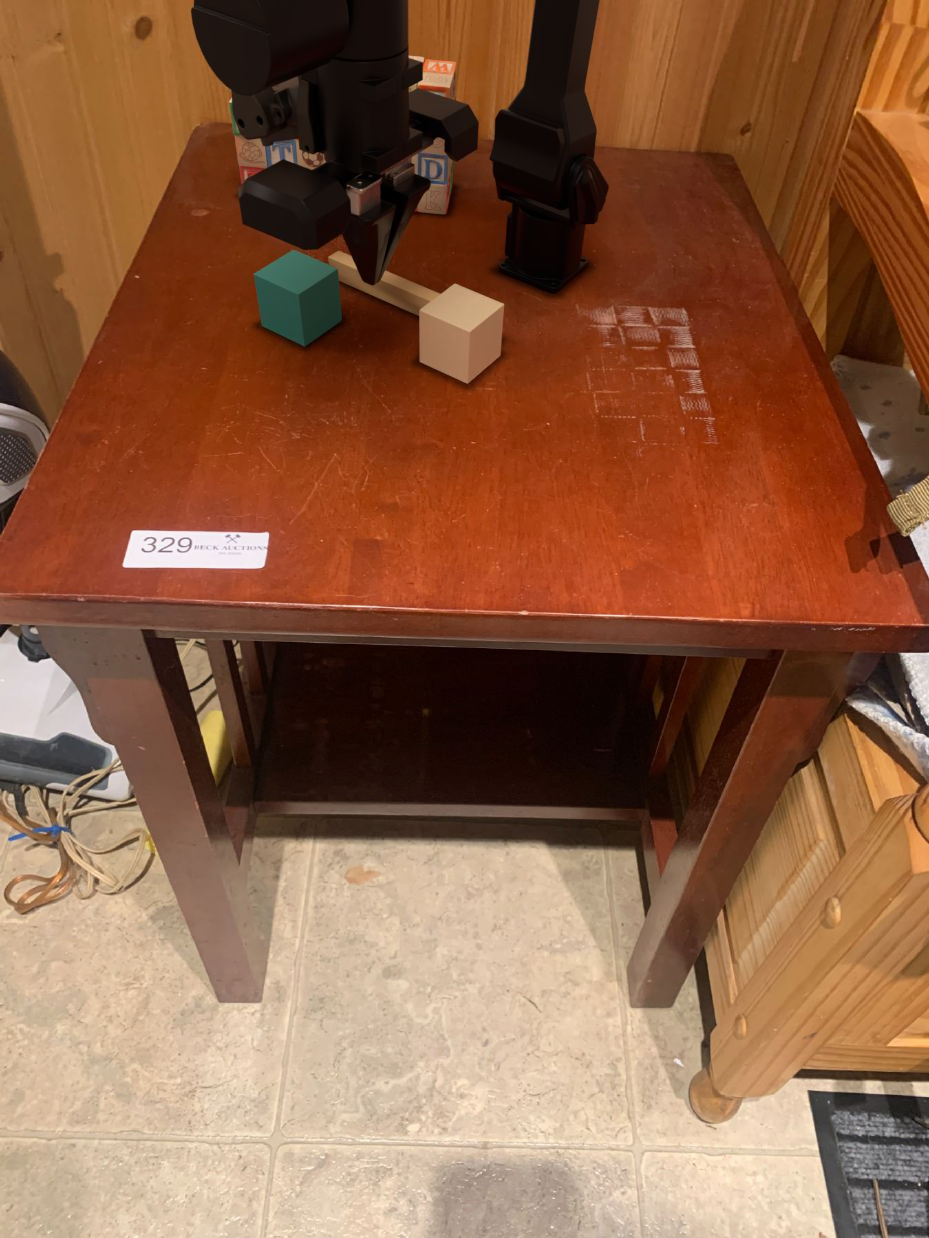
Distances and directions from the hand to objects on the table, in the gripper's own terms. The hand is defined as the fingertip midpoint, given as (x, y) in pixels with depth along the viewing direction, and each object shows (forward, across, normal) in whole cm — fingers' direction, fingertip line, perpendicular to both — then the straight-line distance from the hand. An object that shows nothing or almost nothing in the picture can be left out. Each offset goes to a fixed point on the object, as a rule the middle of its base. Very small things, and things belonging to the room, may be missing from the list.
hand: (371, 282), depth 67 cm
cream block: (+10, -8, +3) cm, 13 cm away
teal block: (+10, -4, -11) cm, 16 cm away
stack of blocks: (+10, -25, -23) cm, 36 cm away
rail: (+10, -12, -5) cm, 16 cm away
